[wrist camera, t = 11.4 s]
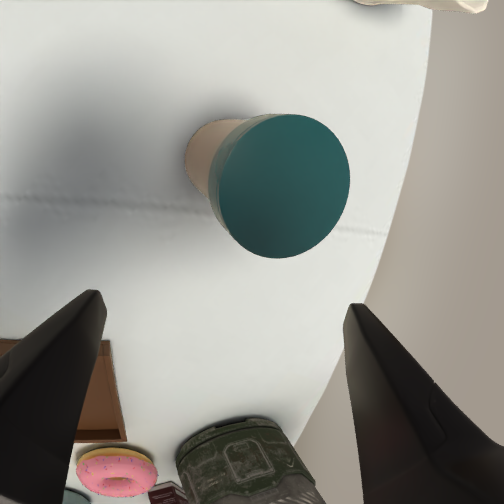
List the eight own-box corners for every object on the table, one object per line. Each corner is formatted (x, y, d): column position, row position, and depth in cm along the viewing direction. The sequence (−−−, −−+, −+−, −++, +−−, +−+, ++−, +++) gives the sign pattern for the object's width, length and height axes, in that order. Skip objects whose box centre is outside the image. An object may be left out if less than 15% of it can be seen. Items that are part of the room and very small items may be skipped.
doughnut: (79, 476, 30) (82, 500, 26) (70, 438, 26) (72, 467, 23) (151, 478, 35) (157, 501, 31) (158, 442, 32) (165, 469, 28)
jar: (180, 195, 22) (219, 246, 14) (190, 114, 20) (239, 111, 12) (254, 199, 24) (326, 246, 16) (266, 125, 22) (350, 136, 14)
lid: (339, 211, 17) (359, 222, 16) (237, 267, 16) (250, 284, 15) (310, 97, 14) (332, 97, 12) (184, 146, 13) (193, 149, 11)
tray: (6, 424, 22) (4, 438, 21) (-37, 336, 18) (-43, 350, 16) (124, 427, 29) (127, 441, 27) (109, 340, 24) (110, 355, 22)
